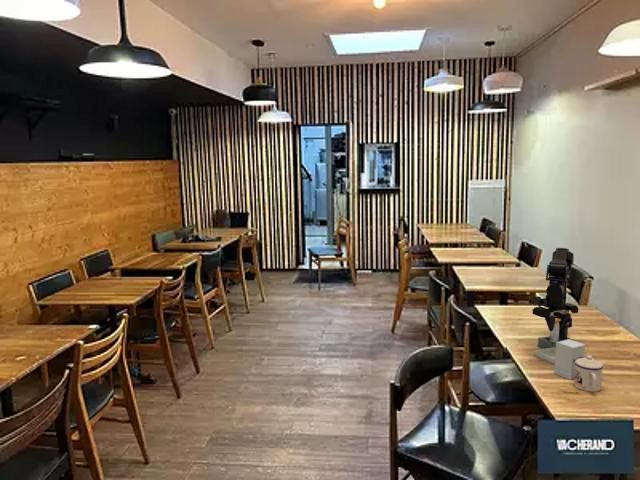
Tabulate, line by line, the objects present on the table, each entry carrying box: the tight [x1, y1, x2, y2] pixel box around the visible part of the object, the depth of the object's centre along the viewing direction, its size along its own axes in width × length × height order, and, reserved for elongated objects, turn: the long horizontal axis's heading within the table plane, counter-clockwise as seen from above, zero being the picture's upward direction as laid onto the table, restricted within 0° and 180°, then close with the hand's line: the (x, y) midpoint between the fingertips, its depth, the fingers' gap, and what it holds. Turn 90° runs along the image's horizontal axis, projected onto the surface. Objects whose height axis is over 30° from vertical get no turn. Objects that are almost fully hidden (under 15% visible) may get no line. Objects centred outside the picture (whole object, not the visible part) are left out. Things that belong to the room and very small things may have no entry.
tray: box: [534, 347, 556, 366], centre depth 211 cm, size 10×10×2 cm
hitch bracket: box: [537, 335, 564, 349], centre depth 222 cm, size 8×8×4 cm
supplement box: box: [553, 339, 586, 381], centre depth 194 cm, size 7×7×13 cm
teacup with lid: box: [573, 354, 604, 393], centre depth 182 cm, size 12×9×12 cm
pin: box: [549, 316, 561, 343], centre depth 209 cm, size 5×5×10 cm
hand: (554, 330), depth 209 cm, fingers closed on pin, 4 cm apart
